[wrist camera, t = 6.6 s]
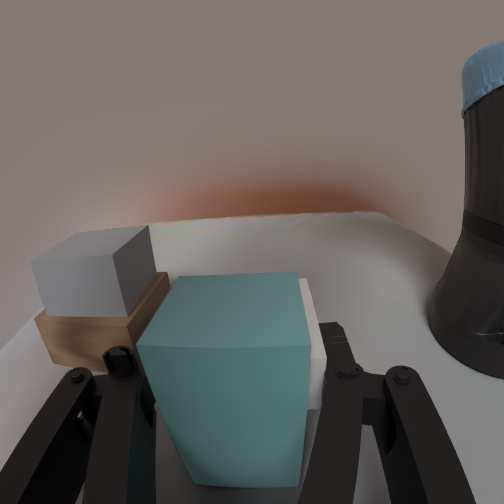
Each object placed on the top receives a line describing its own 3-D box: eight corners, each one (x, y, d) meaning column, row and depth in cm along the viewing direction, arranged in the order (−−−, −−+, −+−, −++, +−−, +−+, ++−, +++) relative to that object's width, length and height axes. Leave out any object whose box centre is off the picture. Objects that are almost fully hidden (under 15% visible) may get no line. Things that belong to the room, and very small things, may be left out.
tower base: (175, 315, 28) (167, 272, 26) (143, 378, 19) (126, 326, 18) (98, 313, 28) (86, 273, 27) (53, 363, 20) (34, 318, 18)
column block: (294, 414, 15) (296, 271, 12) (298, 486, 11) (311, 344, 8) (208, 414, 16) (179, 276, 13) (194, 483, 11) (136, 344, 8)
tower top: (156, 274, 26) (148, 224, 24) (127, 317, 19) (112, 254, 17) (87, 277, 26) (77, 232, 25) (47, 315, 19) (30, 261, 17)
